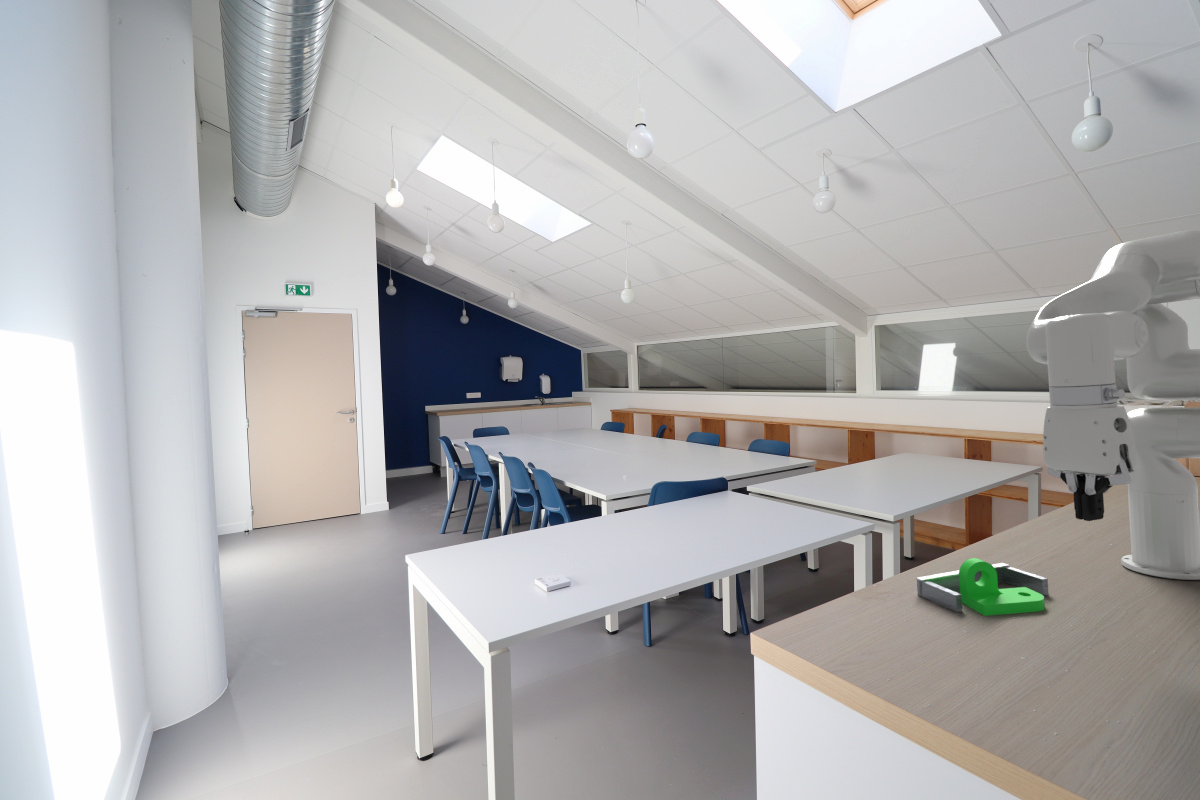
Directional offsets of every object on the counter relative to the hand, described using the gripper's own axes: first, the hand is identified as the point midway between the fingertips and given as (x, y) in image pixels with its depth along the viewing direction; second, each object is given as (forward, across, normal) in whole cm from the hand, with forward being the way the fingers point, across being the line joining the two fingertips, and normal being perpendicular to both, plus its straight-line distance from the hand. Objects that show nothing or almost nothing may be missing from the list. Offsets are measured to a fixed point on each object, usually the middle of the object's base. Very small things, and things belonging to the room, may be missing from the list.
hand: (1089, 518), depth 82 cm
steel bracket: (+18, +19, +1) cm, 26 cm away
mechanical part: (+19, +14, +1) cm, 23 cm away
